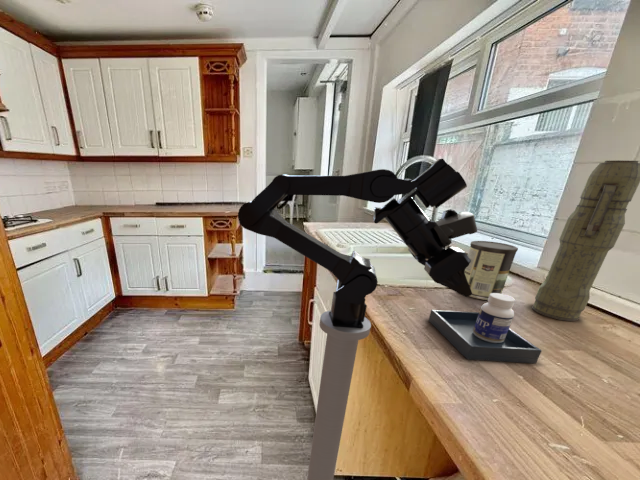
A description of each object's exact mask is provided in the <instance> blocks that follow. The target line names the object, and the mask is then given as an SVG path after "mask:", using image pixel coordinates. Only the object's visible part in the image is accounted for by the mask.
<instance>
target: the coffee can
mask: <svg viewBox="0 0 640 480" xmlns="http://www.w3.org/2000/svg"><path fill="white" fill-rule="evenodd" d="M518 250H519V248H518V247H517V246H514V245H511V244H508V243H502V242H498V241H489V240H488V241H487V240H473V241H472V240H471V242H470V246H469V250H468V253H467V256H468V257H469V258H470V259H471V262H470V264H469V266H468V267H466V269H465V276H466V278H467V281H468V284H469V286H470V289H471V291H472V295H470V296H469V297H470V298H472V299H473V298H474V299H477V300H484V301H488V298H489V295H490V294H491V293H500V294H503V291H504V288H505V285H506V283H507V279H508V276H509V273H510V271H511V268H512V265H513V263H514V260H515V257H516V254H517V252H518Z"/></svg>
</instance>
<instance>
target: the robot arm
mask: <svg viewBox="0 0 640 480" xmlns="http://www.w3.org/2000/svg"><path fill="white" fill-rule="evenodd" d="M467 187H468V185H467V183H466V180H465V179H464V177H463V176H462V175H461V173H460V172H459V171H456V170H455V169H454V167H453V166H451V165H450V164H449V163H447V161H445V159H444V158H438V159H436V161H435V160H434V162H433V163H431V165H430V166H429V167H428V168H427V169H425V170H424V171H423V172H422V173H420V174H419V175H417V176H416V177H415V178H414V179H413V180H412V179H411V178H408V177H406V178H404V179H403V178H398V176H397V175H396V174H395V173H394V172H393V171H392V170H389V169H385V168H379V169H374V170H368V171H363V172H358V173H357V172H356V173H352V174H346V175H289V174H278V175H276V176H274V178H273V179H272V181H271V182H270V183H269V184H268V185H267V186H266V187H265V188H264V189H263V190H261V191H260V192H259V193H258V194H257V195H256V196H255V197H254V198H253V199H252V200H250V201H247V202H245V203H243V204H242V205H240V207H239V209H238V212H237V219H238V223H239V225H240V226H241V227H242V228H243V229H244V230H247V231H250V232H253V233H255V234H257V235H261V236H266V237H270V238H273V239H275V240H277V241H279V242H280V243H282V244H283V245H285V246H287V247H289V248H290V249H292V250H294V251H295V252H297V253H299V254H301V255H302V256H304V257H305V258H307V259H309V260H310V261H312V262H314V263H316V264H317V265H319V266H321V267H322V268H324V269H325V270H328V271H329V272H331V274H332V275H333V276H334V277H335V278H336V279H337V280H336V286H335V291H333V292H332V299H331V300H332V301H331V307H330V310H331V312H329V317H330V319H331V322H332V325H333V326H334V327H350V328H363V324H362V322H364V318H365V317H366V314H367V313H366V312H367V309H368V308H367V307H368V305H367V304H366V297H367V296H369V295H371V294H372V293H373V292H374V291H375V290H376V289H377V288H378V287H377V286H378V283H379V282H378V277H377V271H376V267H375V266H374V265H373V264H372V263H371V262H372V261H371V258H366V257H364V256H362V255H361V254H359V253H358V252H357V251H356V250H353V251H352V252H351V255H348V254H344V253H341V252H339V251H338V250H336V249H334V248H333V247H330V246H329V245H327V244H326V243H324V242H322V241H320V240H319V239H317V238H315V237H314V236H312V235H310V234H309V233H307V232H305V231H304V230H302V229H300V228H299V227H297V226H295V225H294V224H292V223H291V222H289V221H286V219H285V218H284V217H283V216H282V215H281V214H280V213H279V211H277V210H276V208H277V207H278V205H280V203H281V202H282V201H283V200H284V199H285V198H286V197H287V196H335V197H336V196H338V197H339V196H342V197H348V198H353V199H356V200H357V199H358V200H361V201H366V202H372V203H377V204H381V203H385V204H384V205H383V206H382V207H378V206H377V207H376V206H375V207H374V208H373V211H374V213H373V217H372V220H373V223H374V224H378V223H380V222H381V221H383V220H385V221H386V222H387V223H388V225H390V227H391V228H392V230H393V231H394V232H395V233H396V234H397V235H398V237H399V238H400V240H401V241H402V242H403V243H404V244H405V246H406V247H407V248H408V249H407V251H408V252H409V253H410V254H411V256H412V257H413V258H414V260H416V261H417V262H418V263H419V264H421V265H422V266H424V267H423V270H424V271H425V272H426V274H427V275H428V276H429V277H430V278H431V280H432V281H433V282H434V283H436V284H438V285H440V286H443V287H445V288H447V289H450V290H451V291H454V292H455V293H457V294H460V295H461V296H463V297H465V298H468V297H470V295H472V291H471V289H470V286H469V284H468V281H467V278H466V276H465V269H466V267H468V266H469V264H470V262H471V259H470V258H469V257H468V253H466V252H465V251H464V250H462V249H461V248H460V247H455V246H449V245H450V244H452V243H453V241H451V239H456V238H459V237H463V236H466V235H473V234H476V233H477V232H478V227H477V223H476V218H475V214H474V213H471V212H469V211H460V212H459V213H458V212H457V211H456V210H454V209H452V208H449V209H446V210H443V211H442V214H441V217H440V218H438V220H436V221H435V220H432V219H431V218H429V217H428V216H427V214H426V213H425V212H424V211H423V209H422V208H421V207H420V205H418V203H417V202H416V200H414V198H413V197H415V198H416V199H417V200H418V202H419V203H420V204H421V206H423V207H424V208H425V209H428V208H434V209H435V210H436V209H439V207H440V206H442V205H443V204H445V203H446V202H448V201H449V200H450V199H452V198H454V197H455V196H456V195H457V194H459V193H461V192H462V191H463V190H465V189H467ZM400 195H404V196H402V197H400V198H399V199H396V198H395V196H400ZM386 202H387V203H386ZM447 246H448V247H447ZM446 247H447V248H446Z"/></svg>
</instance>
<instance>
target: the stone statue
mask: <svg viewBox="0 0 640 480" xmlns="http://www.w3.org/2000/svg"><path fill="white" fill-rule="evenodd" d="M639 185H640V162H639V160H604V162H599V163H597V165H596V166H595V167H594V169H593V170H592V171H591V173H590V174H589V175H588V177H587V179H586V182H585V184H584V187H583V189H582V192H581V195H580V197H579V198H580V200H579V202H578V204H577V205H576V206H575V208H574V210H573V212H572V213H570V214H569V216H568V217H567V219H566V222H565V224H564V226H563V229H562V231H561V234H560V236H559V238H558V239H559V240H558V241H559V246H558V248H557V250H556V253H555V256H554V258H553V260H552V263H551V266H550V268H549V270H548V273H547V275H546V278H545V280H543V282H542V283H541V284H540V286H539V287H538V290H537V292H536V294H535V297H534V300H535V301H534V303H533V304H532V306H531V309H532V310H533V311H534V312H536V313H538V314H540V315H542V316H545V317H548V318H550V319H554V320H558V321H567V322H577V321H578V320H579V319H580V316H581V314H582V313H583V311H584V310H586V307H587V305H588V303H589V301H590V297H591V296H590V291H591V289H592V286H593V284H594V282H595V280H596V278H597V276H598V274H599V272H600V270H601V268H602V265H603V264H604V261H605V259H606V257H607V255H608V253H609V251H611V250H612V249H614V247H615V245H616V243H617V241H618V239H619V238H620V234H621V232H622V231H623V228H624V226H625V225H626V213H627V210H628V206H629V203H630V202H632V201H633V198H634V196H635V194H636V192H637V189H638V187H639Z"/></svg>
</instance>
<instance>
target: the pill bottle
mask: <svg viewBox="0 0 640 480" xmlns="http://www.w3.org/2000/svg"><path fill="white" fill-rule="evenodd" d="M515 302H516V299H515V298H514V296H511V295H508V294H505V293H502V294H500V293H491V294H490V295H489V298H488V300H487V302H484V303H482V304H481V306H480V309H479V315H478V318H477V320H476V323H475V326H474V329H473V334H474V335H475V336H476V337H478V338H479V339H482V340H484V341H487V342H491V343H502V342H503V341H504V340H505V337H506V335H507V332H508V330H509V328H510V327H511V325H512V322H513V319H514V317H515V310H513V309H512V308H513V307H514V305H515V304H516V303H515Z"/></svg>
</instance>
